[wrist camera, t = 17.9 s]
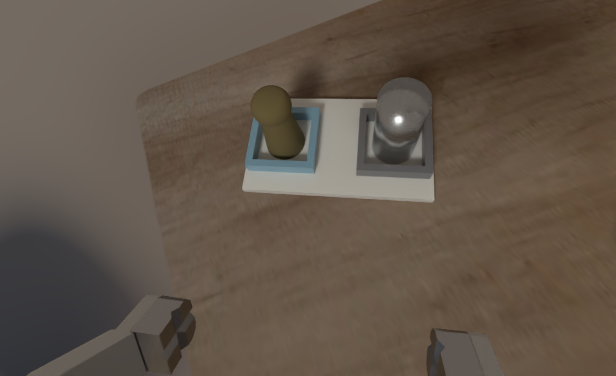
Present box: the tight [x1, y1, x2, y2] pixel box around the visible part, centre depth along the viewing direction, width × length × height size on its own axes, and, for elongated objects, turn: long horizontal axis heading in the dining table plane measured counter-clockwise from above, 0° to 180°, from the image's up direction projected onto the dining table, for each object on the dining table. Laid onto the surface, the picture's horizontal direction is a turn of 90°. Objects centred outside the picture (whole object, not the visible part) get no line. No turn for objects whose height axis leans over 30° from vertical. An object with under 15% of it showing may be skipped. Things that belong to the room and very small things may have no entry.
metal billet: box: [372, 77, 432, 164], centre depth 41 cm, size 6×6×11 cm
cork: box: [250, 85, 305, 160], centre depth 43 cm, size 6×6×11 cm
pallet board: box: [242, 99, 434, 202], centre depth 47 cm, size 27×16×3 cm, turn 84°
